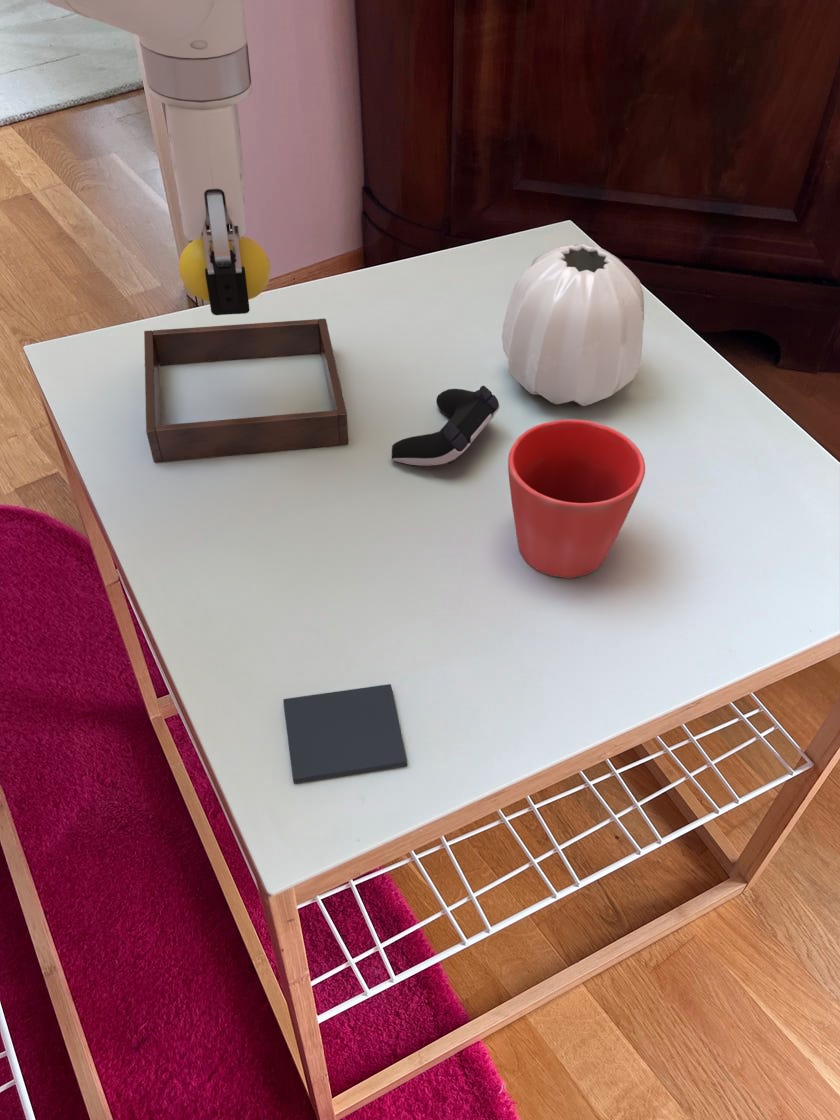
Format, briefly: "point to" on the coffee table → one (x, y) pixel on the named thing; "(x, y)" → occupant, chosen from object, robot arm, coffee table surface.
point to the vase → (575, 325)
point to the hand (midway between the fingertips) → (228, 291)
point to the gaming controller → (450, 428)
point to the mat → (343, 733)
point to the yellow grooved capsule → (250, 258)
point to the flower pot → (571, 493)
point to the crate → (242, 431)
